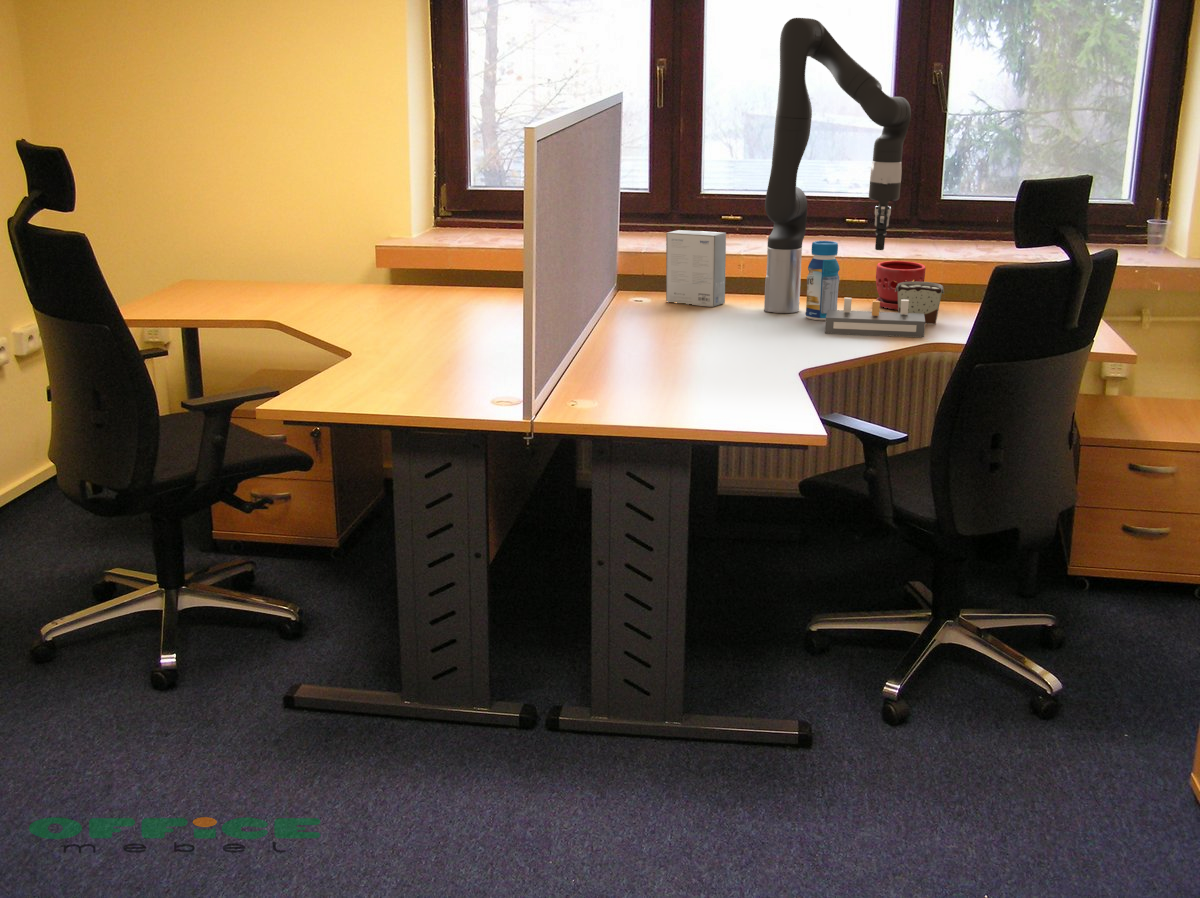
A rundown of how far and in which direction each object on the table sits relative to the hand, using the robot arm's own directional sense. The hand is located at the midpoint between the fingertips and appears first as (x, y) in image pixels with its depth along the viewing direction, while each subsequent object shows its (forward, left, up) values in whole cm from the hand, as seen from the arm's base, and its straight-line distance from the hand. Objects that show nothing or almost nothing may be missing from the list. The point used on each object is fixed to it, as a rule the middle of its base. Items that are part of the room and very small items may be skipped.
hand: (879, 249), depth 297 cm
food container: (+11, +6, -20) cm, 23 cm away
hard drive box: (-50, +19, -20) cm, 57 cm away
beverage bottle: (-14, +5, -20) cm, 24 cm away
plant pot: (+6, +24, -20) cm, 32 cm away
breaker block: (0, -9, -19) cm, 21 cm away
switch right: (+7, -7, -15) cm, 18 cm away
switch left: (-7, -7, -15) cm, 18 cm away
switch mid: (0, -10, -15) cm, 18 cm away
